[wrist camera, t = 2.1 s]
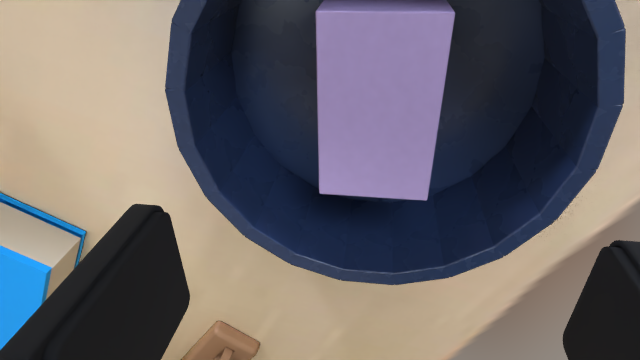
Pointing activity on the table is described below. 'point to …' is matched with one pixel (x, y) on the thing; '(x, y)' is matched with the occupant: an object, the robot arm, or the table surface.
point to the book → (31, 261)
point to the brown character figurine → (223, 345)
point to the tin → (451, 144)
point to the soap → (380, 94)
